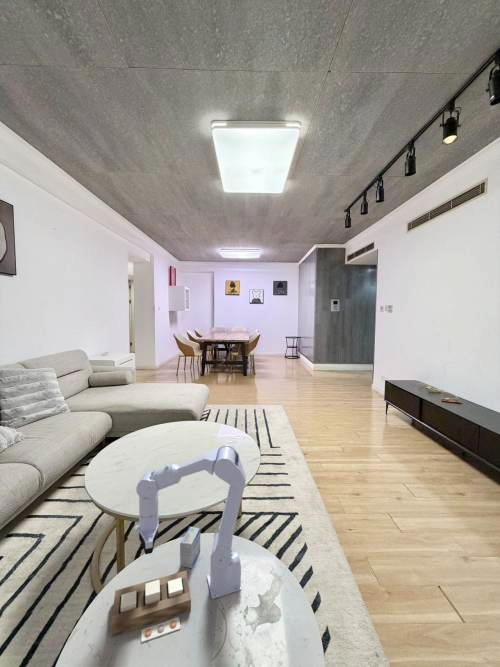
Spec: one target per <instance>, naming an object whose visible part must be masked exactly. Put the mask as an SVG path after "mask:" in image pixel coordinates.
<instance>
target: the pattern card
mask: <svg viewBox="0 0 500 667" xmlns="http://www.w3.org/2000/svg"><path fill="white" fill-rule="evenodd" d="M180 622H181V621H180V617H179V616H178V617H175V618H172V619H169V620H167V621H164V622H160V623H157V624H155V625H152V626H149V627H145V628H143V629H141V634H140V636H141V637H140V638H141V643H145V642H147V641H150V640H151V641H152V640H154V639H156V638H159V637H162V636H164V635H165V636H166V635H169V634H171V633H173V632H177V631H179V630H181V624H180Z"/></svg>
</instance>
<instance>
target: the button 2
mask: <svg viewBox="0 0 500 667" xmlns="http://www.w3.org/2000/svg"><path fill="white" fill-rule="evenodd" d="M181 594H183V587H182V579H181V578H178V579H174V580H171V581H168V598H171V597H175V596H178V595H181Z"/></svg>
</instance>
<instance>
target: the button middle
mask: <svg viewBox="0 0 500 667" xmlns="http://www.w3.org/2000/svg"><path fill="white" fill-rule="evenodd" d="M159 601H160V580H156V581H152V582H149V583H145V606H146V605H149V604H152V603H155V602H159Z"/></svg>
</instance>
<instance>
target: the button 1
mask: <svg viewBox="0 0 500 667" xmlns="http://www.w3.org/2000/svg"><path fill="white" fill-rule="evenodd" d="M133 609H136V591H133V592H130V593H126V594H123V595H122V597H121V613H123V612H126V611H130V610H133Z"/></svg>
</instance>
